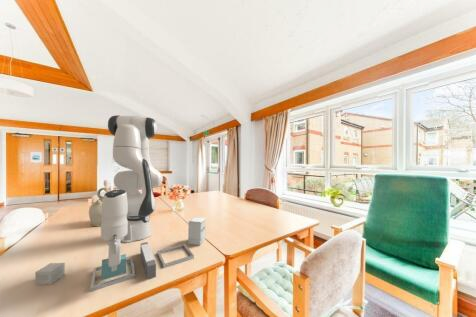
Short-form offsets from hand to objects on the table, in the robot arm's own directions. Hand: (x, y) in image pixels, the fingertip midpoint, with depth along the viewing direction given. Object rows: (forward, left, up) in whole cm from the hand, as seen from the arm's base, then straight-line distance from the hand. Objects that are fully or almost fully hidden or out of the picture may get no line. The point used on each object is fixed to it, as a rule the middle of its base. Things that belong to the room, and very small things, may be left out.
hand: (114, 265), depth 71 cm
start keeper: (+17, +17, -3) cm, 24 cm away
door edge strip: (+9, +8, -3) cm, 12 cm away
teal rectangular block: (0, 0, -3) cm, 3 cm away
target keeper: (0, 0, -3) cm, 3 cm away
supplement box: (+22, +32, -4) cm, 39 cm away
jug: (-53, +44, -4) cm, 70 cm away
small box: (-20, -8, -4) cm, 22 cm away
